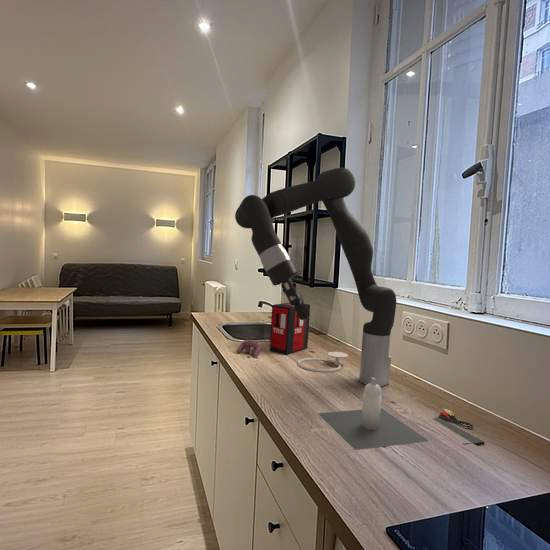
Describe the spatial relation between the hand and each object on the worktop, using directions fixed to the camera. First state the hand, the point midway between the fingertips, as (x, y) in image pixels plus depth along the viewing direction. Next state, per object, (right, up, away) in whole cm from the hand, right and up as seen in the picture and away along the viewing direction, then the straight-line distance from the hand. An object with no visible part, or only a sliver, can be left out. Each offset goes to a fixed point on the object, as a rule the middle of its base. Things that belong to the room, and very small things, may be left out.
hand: (305, 317), depth 108 cm
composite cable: (+40, -29, +2) cm, 50 cm away
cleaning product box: (-2, -22, +70) cm, 73 cm away
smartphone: (+37, -29, -4) cm, 47 cm away
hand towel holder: (+10, -24, +49) cm, 55 cm away
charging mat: (+16, -28, -5) cm, 32 cm away
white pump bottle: (+16, -27, -5) cm, 32 cm away
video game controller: (-19, -21, +59) cm, 65 cm away
